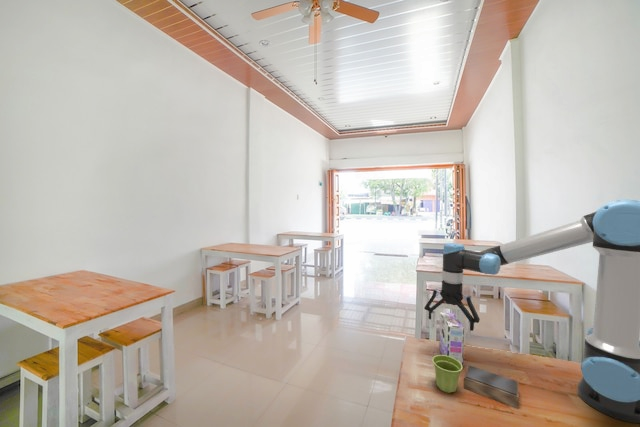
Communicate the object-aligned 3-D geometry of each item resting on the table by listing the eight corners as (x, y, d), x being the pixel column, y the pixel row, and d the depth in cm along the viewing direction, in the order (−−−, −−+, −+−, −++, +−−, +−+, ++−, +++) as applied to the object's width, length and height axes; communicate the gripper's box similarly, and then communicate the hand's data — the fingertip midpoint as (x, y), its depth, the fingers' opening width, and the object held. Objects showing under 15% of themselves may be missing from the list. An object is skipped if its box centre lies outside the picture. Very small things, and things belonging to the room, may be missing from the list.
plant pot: (463, 384, 93) (463, 360, 93) (460, 401, 85) (461, 374, 85) (434, 375, 98) (435, 352, 98) (429, 389, 90) (429, 364, 90)
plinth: (518, 392, 89) (518, 380, 89) (518, 408, 82) (518, 396, 82) (467, 374, 98) (468, 364, 98) (463, 387, 91) (464, 376, 91)
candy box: (463, 369, 101) (464, 327, 101) (446, 367, 103) (448, 325, 102) (452, 350, 115) (453, 312, 114) (438, 348, 116) (439, 311, 116)
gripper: (489, 285, 103) (486, 338, 104) (423, 273, 118) (421, 320, 119) (487, 290, 97) (484, 346, 98) (418, 277, 112) (416, 326, 113)
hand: (449, 332), depth 109 cm, fingers open, 13 cm apart
